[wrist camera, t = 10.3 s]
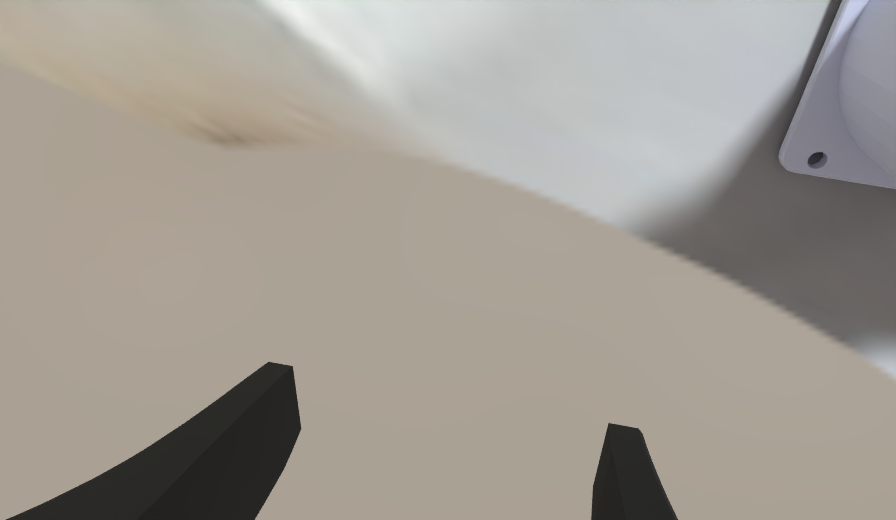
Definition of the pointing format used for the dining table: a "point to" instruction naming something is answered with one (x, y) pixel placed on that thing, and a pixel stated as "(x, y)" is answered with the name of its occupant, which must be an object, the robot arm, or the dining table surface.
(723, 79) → the dining table surface
